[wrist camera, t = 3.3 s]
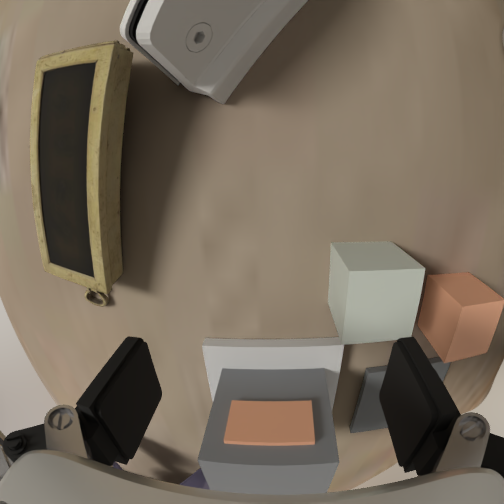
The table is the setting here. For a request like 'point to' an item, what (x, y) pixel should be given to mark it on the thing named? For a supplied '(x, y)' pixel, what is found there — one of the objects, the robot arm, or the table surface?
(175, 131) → the table surface
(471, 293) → the terracotta block
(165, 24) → the white curved block
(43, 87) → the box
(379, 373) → the mat
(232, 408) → the mounted unit
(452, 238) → the table surface
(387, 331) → the grey block
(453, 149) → the table surface
